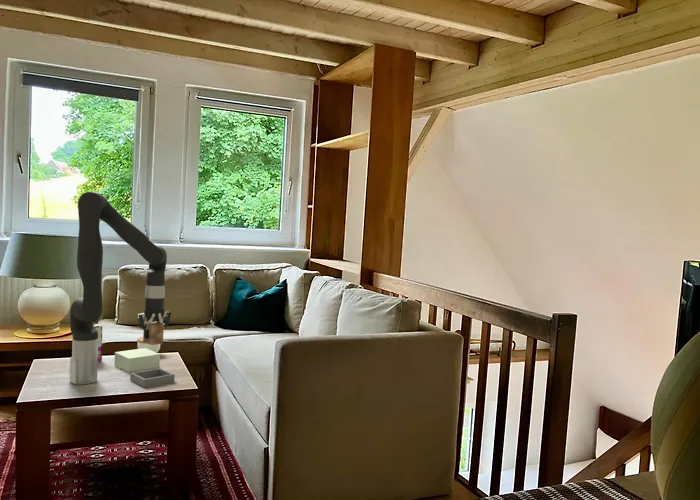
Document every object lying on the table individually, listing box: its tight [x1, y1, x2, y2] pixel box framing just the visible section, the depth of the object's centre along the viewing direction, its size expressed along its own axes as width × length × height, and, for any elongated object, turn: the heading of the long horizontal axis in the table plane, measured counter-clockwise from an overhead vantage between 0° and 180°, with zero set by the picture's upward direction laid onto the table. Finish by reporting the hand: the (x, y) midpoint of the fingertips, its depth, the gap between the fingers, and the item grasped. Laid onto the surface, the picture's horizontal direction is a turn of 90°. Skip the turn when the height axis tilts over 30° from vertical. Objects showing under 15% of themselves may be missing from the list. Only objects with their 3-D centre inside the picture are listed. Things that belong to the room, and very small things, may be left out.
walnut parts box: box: [142, 321, 165, 345], centre depth 229 cm, size 5×7×8 cm
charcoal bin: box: [129, 367, 175, 388], centre depth 230 cm, size 13×12×3 cm
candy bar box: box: [93, 323, 103, 362], centre depth 253 cm, size 11×5×16 cm, turn 143°
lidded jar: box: [136, 336, 162, 353], centre depth 272 cm, size 11×11×9 cm
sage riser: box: [114, 348, 161, 373], centre depth 250 cm, size 14×14×6 cm
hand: (153, 337), depth 229 cm, fingers closed on walnut parts box, 5 cm apart
